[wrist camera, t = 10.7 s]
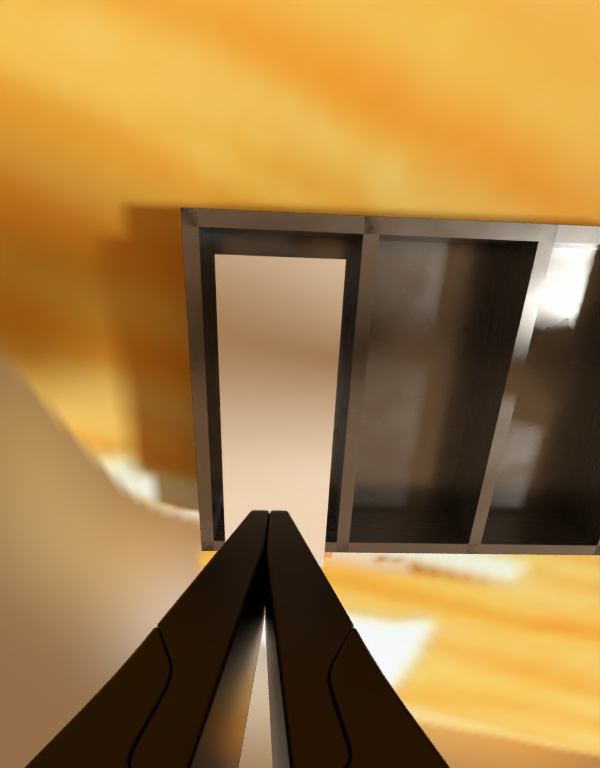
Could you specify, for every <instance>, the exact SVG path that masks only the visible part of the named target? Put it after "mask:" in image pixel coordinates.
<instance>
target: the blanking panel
mask: <svg viewBox="0 0 600 768" xmlns="http://www.w3.org/2000/svg"><path fill="white" fill-rule="evenodd" d="M345 265H346V260H345V259H320V258H295V257H270V256H245V255H220V254H215V275H216V303H217V330H218V358H219V385H220V413H221V440H222V468H223V495H224V523H225V542H226V540H227V539H228V538H229V537H230V536H231V534H232V533H233V532H234V531H235V530H236V528H237V527H238V526H239V525H240V524H241V522H242V521H243V520H244V519H245V517H246V516H247V515H248V514H249V513H250V511H252V510H268V511H269V514H270V511H272V510H286V511H288V512H289V514H290V516H291V517H292V519H293V521H294V523H295V524H296V526H297V528H298V530H299V531H300V533H301V535H302V537H303V538H304V540H305V542H306V543H307V545H308V547H309V549H310V550H311V552H312V554H313V556H314V557H315V559H316V561H317V563H318V564H319V566H320V567H323V566H324V552H325V539H326V525H327V511H328V498H329V484H330V470H331V456H332V443H333V429H334V415H335V402H336V388H337V374H338V361H339V347H340V333H341V320H342V306H343V292H344V279H345Z"/></svg>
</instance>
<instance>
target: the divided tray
mask: <svg viewBox="0 0 600 768" xmlns="http://www.w3.org/2000/svg"><path fill="white" fill-rule="evenodd" d="M181 222H182V239H183V255H184V271H185V287H186V303H187V319H188V336H189V352H190V368H191V384H192V400H193V417H194V433H195V449H196V465H197V481H198V498H199V514H200V530H201V546H202V551H218V550H219V549H220V548H221V547H222V545H223V544H224V543H225V523H224V495H223V468H222V440H221V413H220V385H219V358H218V330H217V303H216V275H215V254H220V255H245V256H270V257H295V258H320V259H345V260H346V265H345V279H344V292H343V306H342V320H341V333H340V347H339V361H338V374H337V388H336V402H335V415H334V429H333V443H332V456H331V470H330V484H329V498H328V511H327V525H326V539H325V552H324V557H332V552H357V553H446V554H536V555H600V226H578V225H556V224H534V223H512V222H489V221H467V220H445V219H423V218H400V217H378V216H356V215H334V214H312V213H289V212H267V211H245V210H223V209H201V208H181Z"/></svg>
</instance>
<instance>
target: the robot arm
mask: <svg viewBox="0 0 600 768" xmlns="http://www.w3.org/2000/svg"><path fill="white" fill-rule="evenodd" d="M264 616H265V627H266V648H267V667H268V685H269V705H270V724H271V744H272V761H273V768H450V767H449V766H448V764H447V763H446V761H445V760H444V759H443V758H442V756H441V754H440V753H439V752H438V750H437V749H436V748H435V746H434V745H433V744H432V742H431V741H430V739H429V738H428V737H427V735H426V734H425V733H424V731H423V730H422V728H421V727H420V726H419V724H418V723H417V722H416V720H415V719H414V717H413V716H412V715H411V713H410V712H409V711H408V709H407V708H406V706H405V705H404V704H403V702H402V701H401V699H400V698H399V696H398V695H397V693H396V692H395V691H394V689H393V688H392V686H391V685H390V683H389V682H388V681H387V679H386V678H385V676H384V675H383V673H382V671H381V670H380V668H379V667H378V665H377V663H376V662H375V660H374V658H373V657H372V655H371V654H370V652H369V650H368V649H367V647H366V645H365V644H364V642H363V640H362V638H361V637H360V635H359V633H358V631H357V630H356V629H355V628H354V625H353V623H352V621H351V620H350V618H349V616H348V615H347V613H346V611H345V609H344V608H343V606H342V604H341V602H340V601H339V599H338V597H337V595H336V594H335V592H334V590H333V589H332V587H331V585H330V583H329V582H328V580H327V578H326V576H325V575H324V573H323V571H322V569H321V568H320V566H319V564H318V563H317V561H316V559H315V557H314V556H313V554H312V552H311V550H310V549H309V547H308V545H307V543H306V542H305V540H304V538H303V537H302V535H301V533H300V531H299V530H298V528H297V526H296V524H295V523H294V521H293V519H292V517H291V516H290V514H289V512H288V511H286V510H272V511H270V514H269V511H268V510H252V511H250V513H249V514H248V515H247V516H246V517H245V519H244V520H243V521H242V522H241V524H240V525H239V526H238V527H237V528H236V530H235V531H234V532H233V533H232V534H231V536H230V537H229V538H228V539H227V540H226V542H225V543H224V544H223V545H222V547H221V548H220V549H219V550H218V551H217V553H216V554H215V555H214V556H213V557H212V559H211V560H210V561H209V562H208V564H207V565H206V566H205V567H204V568H203V570H202V571H201V572H200V573H199V574H198V576H197V577H196V578H195V579H194V581H193V582H192V583H191V584H190V586H189V587H188V588H187V589H186V590H185V592H184V593H183V594H182V595H181V596H180V598H179V599H178V600H177V601H176V602H175V604H174V605H173V606H172V607H171V608H170V610H169V611H168V612H167V613H166V614H165V616H164V617H163V618H162V620H161V621H160V622H159V623H158V625H157V627H155V628H154V629H153V630H152V631H151V632H150V634H149V635H148V636H147V637H146V638H145V640H144V641H143V642H142V643H141V645H140V646H139V647H138V648H137V649H136V650H135V652H134V653H133V654H132V655H131V656H130V657H129V659H128V660H127V661H126V662H125V663H124V664H123V665H122V667H121V668H120V669H119V670H118V671H117V672H116V673H115V675H114V676H113V677H112V678H111V679H110V680H109V681H108V682H107V683H106V684H105V685H104V686H103V687H102V688H101V689H100V691H99V692H98V693H97V694H96V695H95V696H94V697H93V698H92V699H91V700H90V701H89V702H88V703H87V704H86V705H85V706H84V708H82V709H81V711H80V712H79V713H78V714H77V715H76V716H75V717H74V718H73V719H72V720H71V721H70V722H69V723H68V724H67V725H66V726H65V727H64V728H63V729H62V730H61V731H60V732H59V733H58V734H57V735H56V736H55V737H54V738H53V739H52V740H51V741H50V742H49V743H48V744H47V745H46V746H45V747H44V748H43V749H42V750H41V751H40V752H39V753H38V754H37V755H36V756H35V758H34V759H32V760H31V761H30V763H29V764H28V765H27V766H26V767H25V768H238V767H239V762H240V756H241V750H242V745H243V739H244V733H245V728H246V722H247V716H248V710H249V705H250V699H251V693H252V687H253V682H254V676H255V670H256V665H257V658H258V653H259V647H260V642H261V636H262V630H263V623H264Z"/></svg>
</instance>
